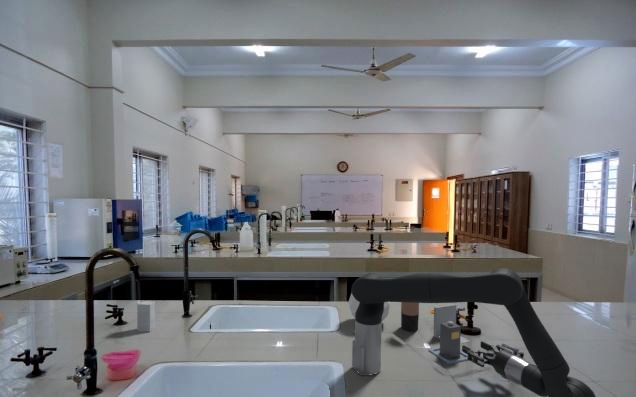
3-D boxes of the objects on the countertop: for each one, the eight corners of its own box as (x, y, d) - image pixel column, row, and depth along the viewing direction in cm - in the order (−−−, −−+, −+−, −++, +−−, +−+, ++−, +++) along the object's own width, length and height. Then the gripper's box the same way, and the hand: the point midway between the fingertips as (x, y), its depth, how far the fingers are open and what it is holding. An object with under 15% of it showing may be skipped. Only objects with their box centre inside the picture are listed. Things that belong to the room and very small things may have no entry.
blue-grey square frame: (449, 368, 121) (449, 362, 120) (428, 354, 131) (428, 349, 131) (472, 362, 125) (472, 357, 125) (450, 349, 135) (450, 344, 135)
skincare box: (155, 328, 151) (155, 301, 151) (149, 332, 147) (150, 304, 147) (142, 327, 152) (142, 301, 152) (136, 331, 148) (136, 304, 147)
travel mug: (414, 336, 146) (415, 290, 146) (397, 332, 151) (398, 287, 150) (420, 331, 152) (421, 287, 152) (404, 326, 157) (405, 283, 157)
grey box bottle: (449, 360, 124) (450, 325, 124) (439, 354, 129) (440, 320, 129) (460, 358, 126) (460, 323, 126) (450, 352, 131) (450, 318, 131)
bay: (449, 349, 135) (450, 314, 135) (433, 339, 144) (434, 306, 143) (470, 344, 139) (471, 311, 139) (453, 335, 148) (454, 303, 148)
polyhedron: (375, 341, 156) (380, 317, 144) (339, 317, 166) (341, 293, 154) (394, 312, 168) (400, 287, 156) (360, 292, 178) (363, 267, 165)
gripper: (530, 352, 106) (487, 332, 121) (498, 360, 100) (456, 338, 115) (530, 376, 106) (486, 353, 121) (497, 385, 101) (456, 360, 116)
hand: (472, 346), depth 118 cm, fingers open, 8 cm apart
